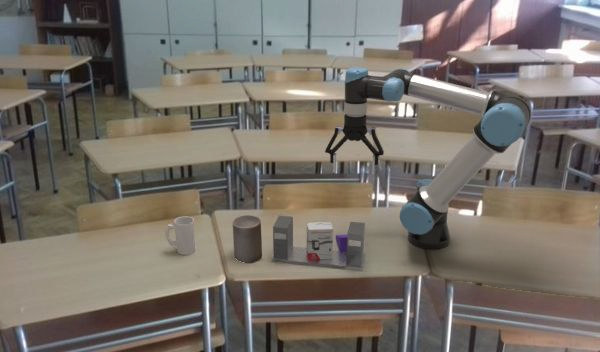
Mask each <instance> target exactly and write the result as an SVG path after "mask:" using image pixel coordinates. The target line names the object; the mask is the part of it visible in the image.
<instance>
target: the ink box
mask: <svg viewBox="0 0 600 352" xmlns="http://www.w3.org/2000/svg"><path fill="white" fill-rule="evenodd" d="M333 243H334V227H333V224H332V222H330V221H329V222H326V221H325V222H324V221H323V222H321V221H317V222H308V223H306V248H307V257H308V260H319V259H332V251H333V248H334V247H333V246H334V245H333Z"/></svg>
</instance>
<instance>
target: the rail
mask: <svg viewBox="0 0 600 352" xmlns="http://www.w3.org/2000/svg"><path fill="white" fill-rule="evenodd" d="M365 228H366V223H365V222H359V221H350V222H349V226H348V231H347V234H346V235H347V252H345V251H339V250H333V251H332V259H319V260H308V257H307V247H304V246H303V247H302V246H301V247H300V246H294V217H293V216H288V215H278V216H277V218H276V220H275V222H274V224H273V227H272V238H273V239H272V240H273V241H272V245H273V246H272V247H273V249H272V251H273V252H272V253H273V255H272V258H271V263H276V264H277V263H279V264H280V263H281V264H287V265H289V264H290V265H298V266H299V265H300V266H308V267H318V268H327V269H328V268H329V269H338V270H349V271H357V272H359V271H360V272H363V270H364V263H365V258H366V253H364V250H365V234H366V233H365V230H366V229H365Z"/></svg>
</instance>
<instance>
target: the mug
mask: <svg viewBox="0 0 600 352" xmlns="http://www.w3.org/2000/svg"><path fill="white" fill-rule="evenodd" d="M173 223H174V224H167V227H166V230H165V238H166V241H167V242H168V244H169V245H170V246H172V247H173V246H175V247H176V250H177V254H179V255H181V256H188V255H189V256H190V255H192V254H194V253H196V241H195V239H196V238H195V237H196V235H195V219H194V218H193V217H192V216H184V215H183V216H178V217H176V218H175V219H174V221H173ZM173 229H174V232H175V233H174V235H175V240H172V239H171V238H170V236H169V233H170V231H171V230H173Z"/></svg>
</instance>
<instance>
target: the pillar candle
mask: <svg viewBox="0 0 600 352" xmlns="http://www.w3.org/2000/svg"><path fill="white" fill-rule="evenodd" d="M231 222H232V223H231V224H232V234H233V235H232V237H233V252H234V259H235V258H236V259H237V260H238V261H237V260H236V259H235V260H236V261H237V262H239V261H241V262H240V263H242V262H245V263H244V264H253V263H256V262H258V261H260V260H261V259H262V257H263V249H262V248H263V247H262V246H263V243H262V242H263V241H262V240H263V239H262V222H261V219H260V218H259V217H258V216H255V215H241V216H237V217H236V218H234V219H233V220H232V221H231Z"/></svg>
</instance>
